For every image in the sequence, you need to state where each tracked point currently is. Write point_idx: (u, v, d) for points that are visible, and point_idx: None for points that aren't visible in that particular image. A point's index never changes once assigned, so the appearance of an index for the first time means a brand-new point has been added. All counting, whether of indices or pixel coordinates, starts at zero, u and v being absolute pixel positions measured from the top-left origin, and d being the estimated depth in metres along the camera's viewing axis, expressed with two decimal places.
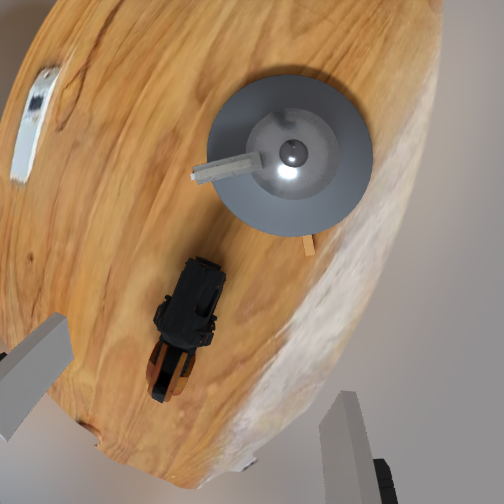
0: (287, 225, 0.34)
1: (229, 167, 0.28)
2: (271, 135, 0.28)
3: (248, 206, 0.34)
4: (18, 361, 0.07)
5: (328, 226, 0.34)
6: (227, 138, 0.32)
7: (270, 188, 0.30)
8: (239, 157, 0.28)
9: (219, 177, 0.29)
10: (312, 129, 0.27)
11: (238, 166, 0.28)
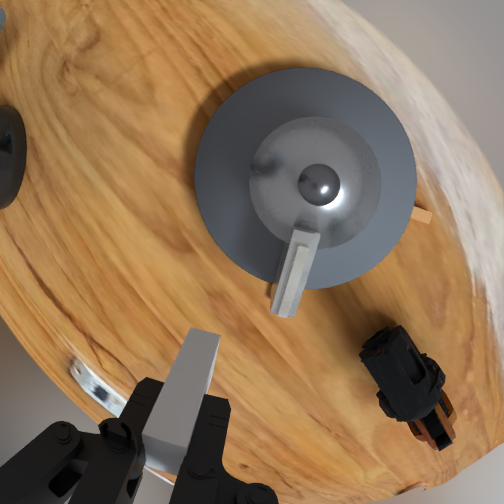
0: (391, 229, 0.24)
1: (296, 274, 0.21)
2: (281, 199, 0.20)
3: (346, 262, 0.25)
4: (184, 384, 0.10)
5: (414, 182, 0.22)
6: (253, 247, 0.25)
7: (346, 235, 0.21)
8: (290, 256, 0.21)
9: (300, 290, 0.22)
10: (297, 142, 0.19)
11: (301, 263, 0.21)
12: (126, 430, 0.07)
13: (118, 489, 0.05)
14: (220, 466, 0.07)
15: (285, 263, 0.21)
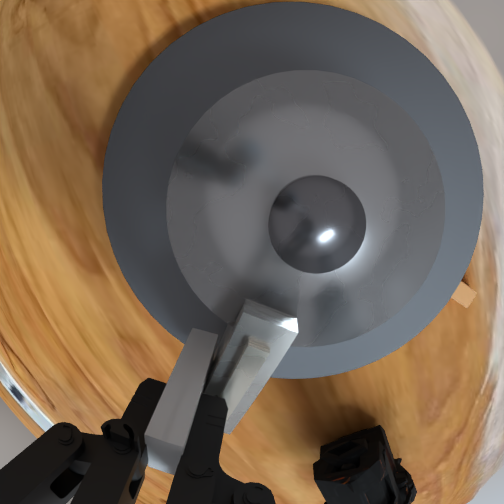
0: (416, 313, 0.13)
1: (237, 388, 0.10)
2: (228, 242, 0.10)
3: (330, 351, 0.15)
4: (186, 385, 0.10)
5: (473, 244, 0.12)
6: (179, 297, 0.14)
7: (351, 329, 0.10)
8: (230, 356, 0.10)
9: (244, 407, 0.11)
10: (284, 120, 0.08)
11: (249, 374, 0.10)
12: (129, 431, 0.07)
13: (120, 490, 0.05)
14: (217, 465, 0.07)
15: (219, 365, 0.10)
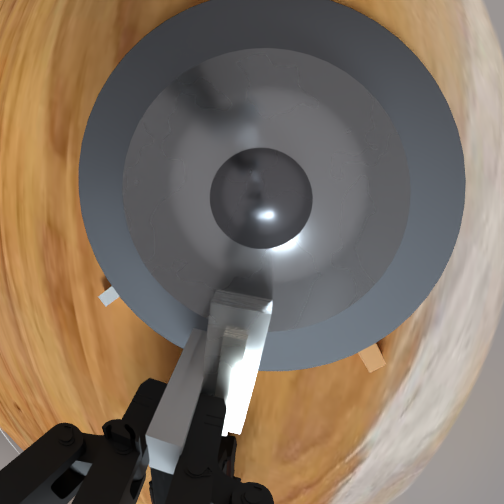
0: (318, 347, 0.14)
1: (227, 383, 0.10)
2: (185, 236, 0.10)
3: None
4: (187, 385, 0.10)
5: (405, 316, 0.13)
6: (113, 210, 0.13)
7: (334, 302, 0.10)
8: (213, 350, 0.10)
9: (244, 402, 0.10)
10: (208, 107, 0.08)
11: (235, 366, 0.10)
12: (130, 432, 0.07)
13: (121, 491, 0.05)
14: (215, 465, 0.07)
15: (206, 362, 0.10)
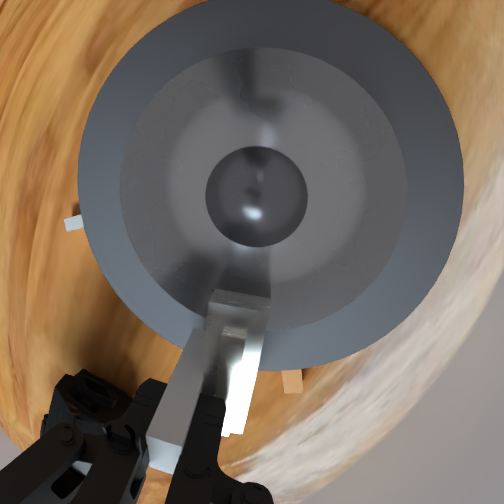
0: None
1: (227, 382, 0.10)
2: (183, 236, 0.10)
3: (160, 303, 0.14)
4: (187, 385, 0.10)
5: (338, 356, 0.14)
6: (113, 144, 0.12)
7: (334, 300, 0.10)
8: (212, 350, 0.10)
9: (244, 402, 0.10)
10: (202, 108, 0.08)
11: (234, 365, 0.10)
12: (130, 432, 0.07)
13: (122, 491, 0.05)
14: (215, 465, 0.07)
15: (205, 361, 0.10)
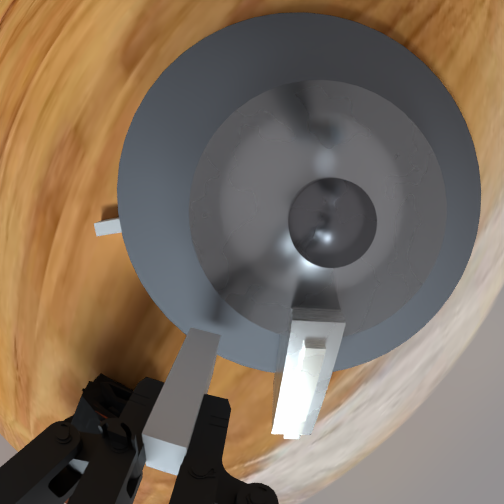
0: None
1: (306, 389, 0.11)
2: (260, 263, 0.10)
3: (202, 312, 0.15)
4: (184, 384, 0.10)
5: (365, 360, 0.15)
6: (161, 151, 0.13)
7: (391, 304, 0.11)
8: (292, 362, 0.10)
9: (317, 405, 0.11)
10: (273, 139, 0.09)
11: (314, 373, 0.10)
12: (126, 430, 0.07)
13: (118, 489, 0.05)
14: (220, 466, 0.07)
15: (285, 374, 0.11)
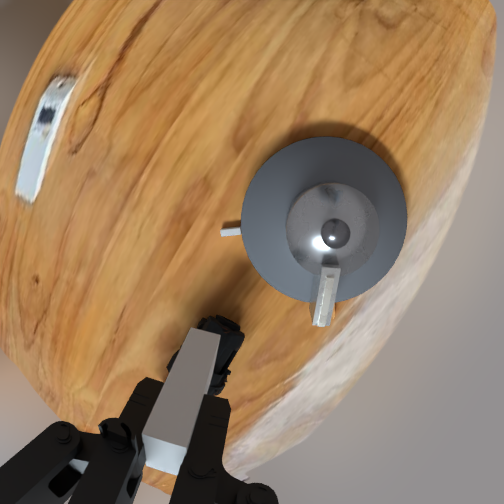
0: None
1: (327, 297, 0.29)
2: (310, 247, 0.29)
3: (278, 272, 0.34)
4: (184, 384, 0.10)
5: (352, 296, 0.34)
6: (264, 200, 0.31)
7: (358, 263, 0.29)
8: (322, 285, 0.29)
9: (331, 306, 0.30)
10: (316, 205, 0.28)
11: (330, 289, 0.29)
12: (126, 430, 0.07)
13: (118, 489, 0.05)
14: (220, 466, 0.07)
15: (319, 290, 0.29)
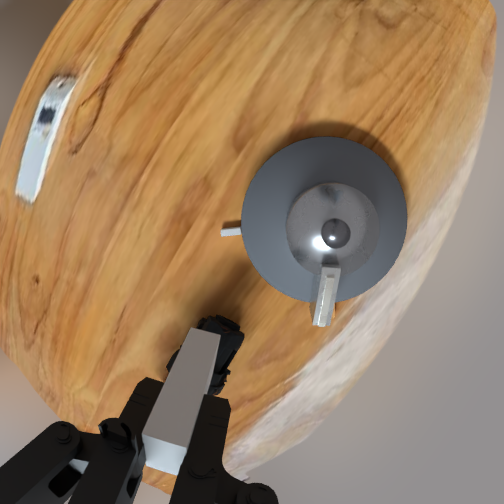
0: None
1: (327, 296, 0.29)
2: (310, 247, 0.29)
3: (278, 271, 0.34)
4: (184, 384, 0.10)
5: (352, 296, 0.34)
6: (264, 200, 0.31)
7: (358, 263, 0.29)
8: (322, 284, 0.29)
9: (332, 306, 0.30)
10: (317, 205, 0.28)
11: (330, 288, 0.29)
12: (126, 430, 0.07)
13: (118, 489, 0.05)
14: (220, 466, 0.07)
15: (319, 290, 0.29)
